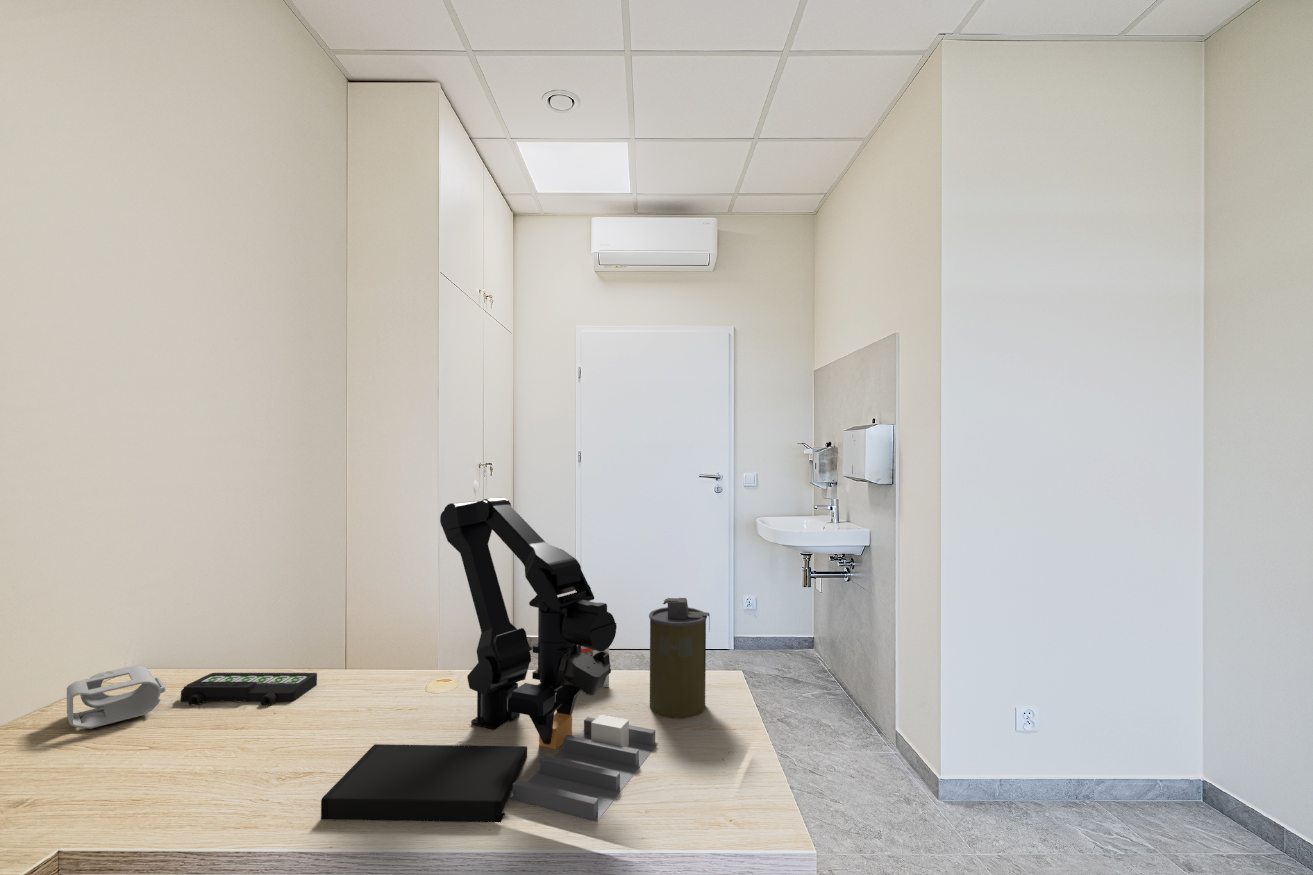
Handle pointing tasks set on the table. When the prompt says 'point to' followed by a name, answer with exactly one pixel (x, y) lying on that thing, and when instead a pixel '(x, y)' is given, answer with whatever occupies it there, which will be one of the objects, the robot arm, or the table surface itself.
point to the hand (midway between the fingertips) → (555, 735)
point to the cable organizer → (114, 697)
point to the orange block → (559, 730)
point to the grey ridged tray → (585, 773)
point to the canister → (677, 659)
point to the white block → (610, 730)
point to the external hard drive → (426, 784)
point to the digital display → (248, 687)
